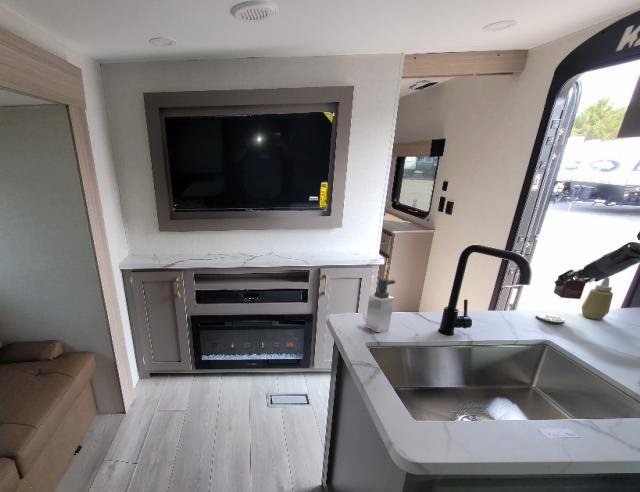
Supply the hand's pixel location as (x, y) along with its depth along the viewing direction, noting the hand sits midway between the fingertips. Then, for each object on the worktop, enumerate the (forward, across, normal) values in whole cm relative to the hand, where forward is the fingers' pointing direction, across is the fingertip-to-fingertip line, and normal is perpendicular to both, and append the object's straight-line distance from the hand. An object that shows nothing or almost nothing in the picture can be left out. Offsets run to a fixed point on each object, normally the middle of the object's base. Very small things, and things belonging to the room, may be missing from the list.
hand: (566, 283), depth 127 cm
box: (+2, 0, -4) cm, 5 cm away
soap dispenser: (+13, -71, -13) cm, 73 cm away
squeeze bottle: (+18, +22, -8) cm, 30 cm away
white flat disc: (+17, +3, -9) cm, 19 cm away
